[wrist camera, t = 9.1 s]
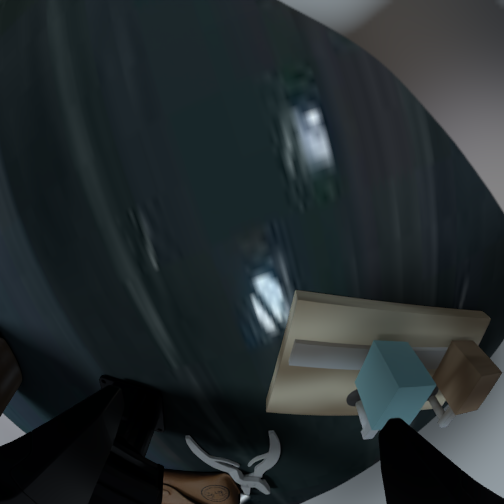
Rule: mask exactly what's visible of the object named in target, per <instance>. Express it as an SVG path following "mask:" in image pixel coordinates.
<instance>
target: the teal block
mask: <svg viewBox="0 0 504 504" xmlns="http://www.w3.org/2000/svg"><path fill="white" fill-rule="evenodd" d="M355 384H356V387H357V390H358V393H359V395H360V398H361V400H360V401H358V402H356V404H355V405H356V408H357V412H358V415H359V418H360V421H361V424H362V427H363V430H362V431H361V433H362V437H363V439H373V437H374V436H375V434H376V433H377V432H378V430H381V429H382V428H383V427H384V425H385V424H386V422H387V421H388V420H389V419H390V418H401V419H403V420H404V421H405V422H406V423H407V424H408V425H410V423H411V422H412V421H413V419H414V418H415V417H416V415H417V414H418V412H419V411H420V410H421V408H422V407H423V405H424V404H425V402H426V401H427V399H428V398H429V396H430V395H431V393H432V392H433V390H434V388H435V387H436V383H435V382H434V380H433V379H432V377H431V375H430V374H429V372H428V371H427V369H426V368H425V366H424V365H423V363H422V362H421V361H420V359H419V358H418V356H417V355H416V353H415V352H414V350H413V349H412V347H411V346H410V345H409V343H408V342H402V341H381V340H373V343H372V345H371V347H370V350H369V352H368V354H367V357H366V359H365V361H364V363H363V365H362V368H361V370H360V372H359V374H358V376H357V378H356V380H355Z"/></svg>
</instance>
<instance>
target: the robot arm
mask: <svg viewBox="0 0 504 504" xmlns="http://www.w3.org/2000/svg"><path fill="white" fill-rule="evenodd" d="M99 381H100V385H101V390H99V391H98V392H96V393H94V394H93V395H91V396H90V397H88V398H86V399H85V400H83V401H81V402H80V403H78V404H76V405H75V406H73V407H71V408H70V409H68V410H66V411H65V412H63V413H61V414H60V415H58V416H56V417H55V418H53V419H51V420H50V421H48V422H46V423H44V424H43V425H41V426H39V427H38V428H36V429H34V430H32V432H29V433H27V434H25V435H24V436H21V437H19V438H18V439H16V440H14V441H12V442H10V443H7V444H5V445H2V446H0V504H162V498H163V478H164V466H162V465H160V464H156V463H154V462H153V461H151V460H149V459H147V458H145V455H146V452H147V450H148V447H149V444H150V441H151V438H152V436H153V433H154V431H157V432H164V430H165V420H164V408H163V395H162V394H161V393H160V392H158V391H155V390H151V389H147V388H144V387H140V386H137V385H133V384H130V383H126V382H123V381H120V380H117V379H114V378H110V377H107V376H104V375H102V376H101V377H100V379H99ZM379 448H380V461H381V472H382V478H383V484H384V490H385V496H386V502H387V504H504V498H502V497H500V496H499V495H497V494H495V493H494V492H492V491H490V490H489V489H487V488H486V487H484V486H483V485H481V484H480V483H478V482H476V481H475V480H474V479H473V478H471V477H470V476H469V475H468V474H466V473H465V472H464V471H462V470H461V469H460V468H459V467H458V466H456V465H455V464H454V463H453V462H452V461H451V460H449V459H448V458H447V457H446V456H445V455H443V454H442V453H441V452H440V451H438V450H437V449H436V448H435V447H434V446H433V445H432V444H430V443H429V442H428V441H427V440H426V439H424V438H423V437H422V436H421V435H420V434H419V433H418V432H416V431H415V430H414V429H413V428H412V427H411V426H409V425H408V424H407V423H406V422H405V421H404V420H403V419H401V418H390V419H389V420H388V421H387V422H386V424H385V425H384V427H383V428H382V429H381V431H380V433H379Z"/></svg>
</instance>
